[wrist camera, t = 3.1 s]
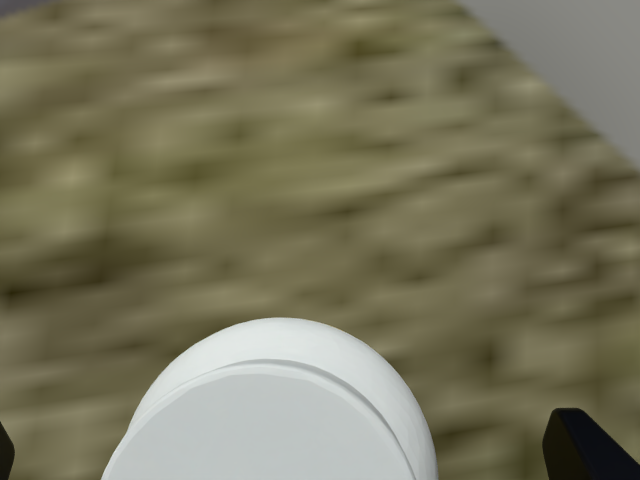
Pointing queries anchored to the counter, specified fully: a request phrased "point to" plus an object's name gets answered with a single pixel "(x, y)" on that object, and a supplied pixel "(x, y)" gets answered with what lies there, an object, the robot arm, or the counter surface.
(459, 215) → the counter surface
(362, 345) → the supplement bottle
